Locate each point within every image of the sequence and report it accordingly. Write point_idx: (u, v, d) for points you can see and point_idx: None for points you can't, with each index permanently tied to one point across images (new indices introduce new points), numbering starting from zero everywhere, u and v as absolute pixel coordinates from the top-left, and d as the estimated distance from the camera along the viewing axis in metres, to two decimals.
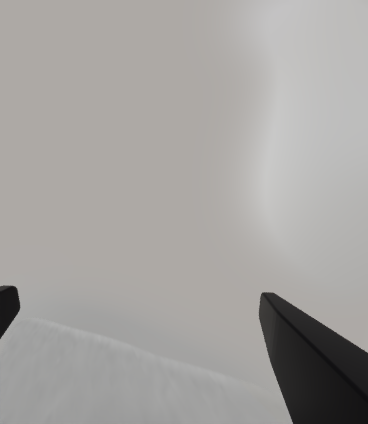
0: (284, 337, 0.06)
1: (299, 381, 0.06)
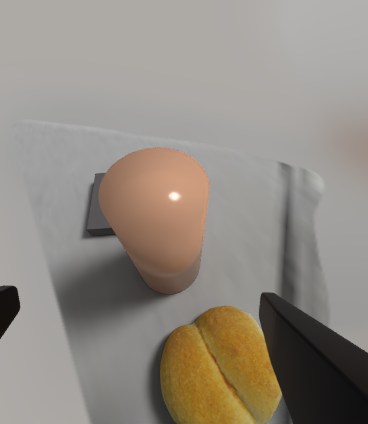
0: (284, 337, 0.06)
1: (299, 381, 0.06)
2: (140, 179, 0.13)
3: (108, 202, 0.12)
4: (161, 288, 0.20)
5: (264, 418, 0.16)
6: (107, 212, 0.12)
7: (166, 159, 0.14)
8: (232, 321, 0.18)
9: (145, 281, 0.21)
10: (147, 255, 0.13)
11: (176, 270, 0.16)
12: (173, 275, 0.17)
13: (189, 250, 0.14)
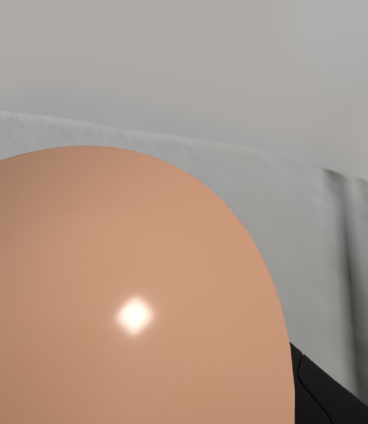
0: None
1: None
2: None
3: None
4: None
5: None
6: None
7: (106, 189, 0.04)
8: None
9: None
10: None
11: None
12: None
13: None
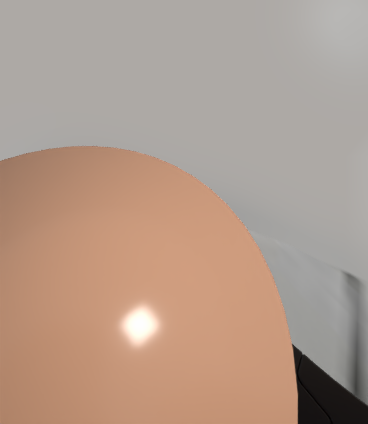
0: None
1: None
2: None
3: None
4: None
5: None
6: None
7: (107, 190, 0.04)
8: None
9: None
10: None
11: None
12: None
13: None
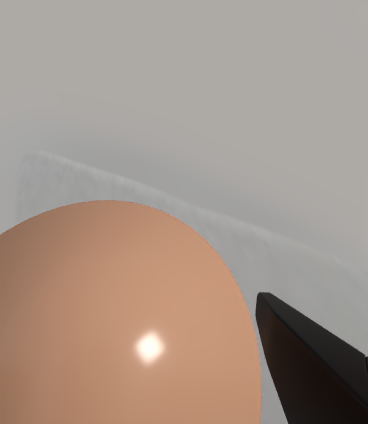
0: (279, 337, 0.06)
1: (294, 381, 0.06)
2: (35, 319, 0.04)
3: None
4: None
5: None
6: None
7: (126, 240, 0.05)
8: None
9: None
10: None
11: None
12: None
13: None
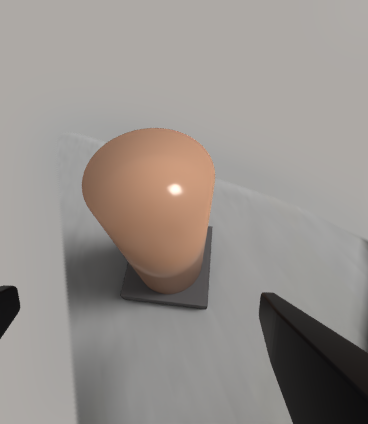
0: (284, 337, 0.06)
1: (299, 381, 0.06)
2: (132, 164, 0.11)
3: (93, 191, 0.10)
4: (159, 288, 0.18)
5: None
6: (92, 203, 0.10)
7: (163, 141, 0.11)
8: None
9: (142, 280, 0.19)
10: (140, 254, 0.11)
11: (175, 270, 0.14)
12: (172, 275, 0.15)
13: (190, 248, 0.12)
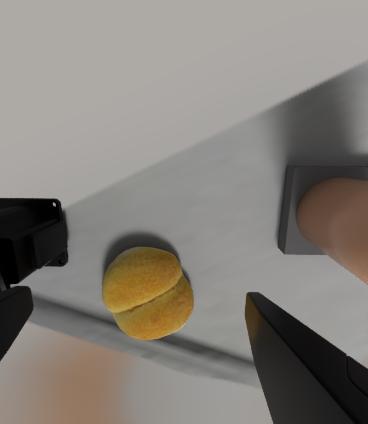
0: (265, 336, 0.06)
1: (278, 380, 0.06)
2: None
3: None
4: (308, 217, 0.17)
5: (116, 320, 0.22)
6: None
7: None
8: (178, 318, 0.20)
9: (314, 193, 0.18)
10: None
11: (350, 263, 0.13)
12: (340, 253, 0.14)
13: None
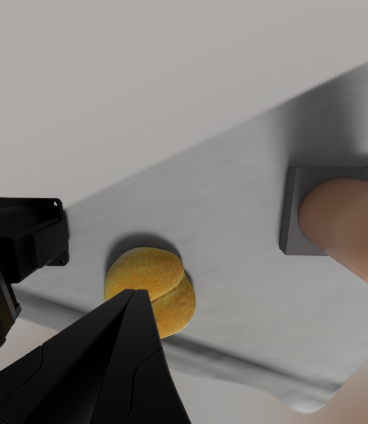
0: None
1: None
2: None
3: None
4: (312, 217, 0.17)
5: None
6: None
7: None
8: (180, 319, 0.20)
9: (318, 193, 0.17)
10: None
11: (357, 265, 0.13)
12: (345, 255, 0.14)
13: None
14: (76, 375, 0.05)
